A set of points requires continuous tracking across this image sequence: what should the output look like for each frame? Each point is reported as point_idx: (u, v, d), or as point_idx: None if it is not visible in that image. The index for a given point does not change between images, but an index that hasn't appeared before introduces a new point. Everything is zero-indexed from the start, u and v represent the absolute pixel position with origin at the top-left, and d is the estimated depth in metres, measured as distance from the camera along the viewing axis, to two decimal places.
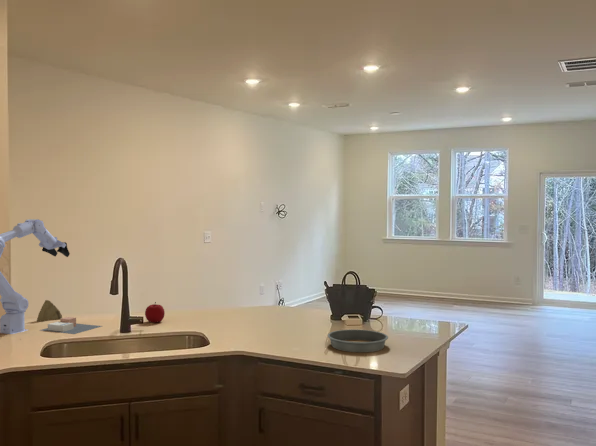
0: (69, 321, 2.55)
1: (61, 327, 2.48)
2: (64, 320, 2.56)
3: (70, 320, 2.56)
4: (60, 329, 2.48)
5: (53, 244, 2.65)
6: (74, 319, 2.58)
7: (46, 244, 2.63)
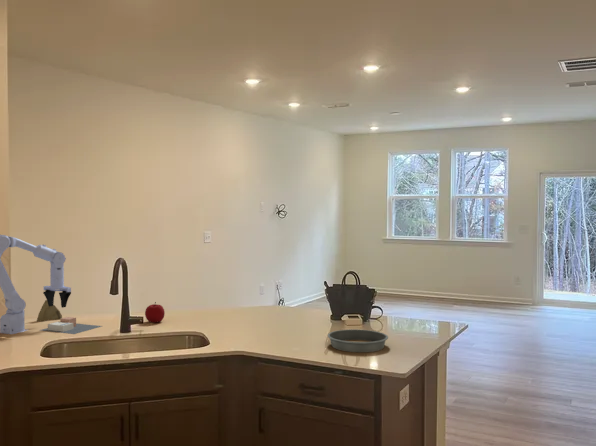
0: (69, 321, 2.55)
1: (61, 327, 2.48)
2: (64, 320, 2.56)
3: (70, 320, 2.56)
4: (60, 329, 2.48)
5: (59, 285, 2.58)
6: (74, 319, 2.58)
7: (54, 281, 2.57)
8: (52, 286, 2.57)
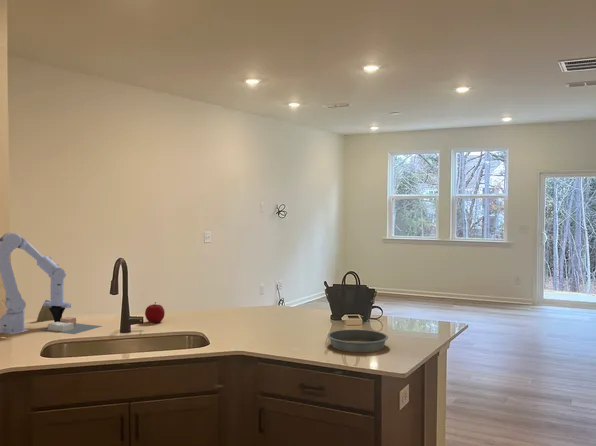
0: (69, 321, 2.55)
1: (61, 327, 2.48)
2: (64, 320, 2.56)
3: (70, 320, 2.56)
4: (60, 329, 2.48)
5: (60, 301, 2.58)
6: (74, 319, 2.58)
7: (54, 297, 2.57)
8: (52, 302, 2.57)
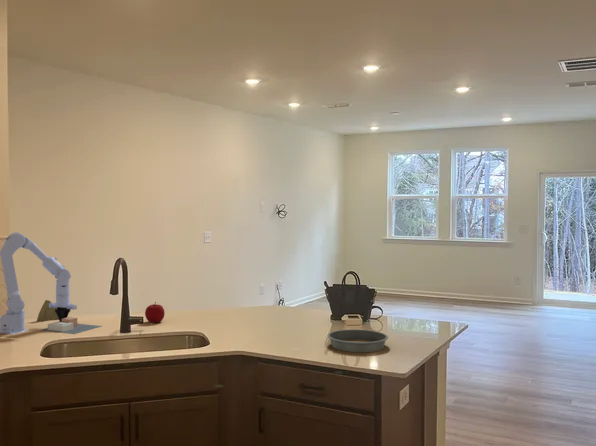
0: (70, 321, 2.55)
1: (61, 327, 2.48)
2: (65, 320, 2.55)
3: (71, 320, 2.55)
4: (60, 329, 2.48)
5: (65, 303, 2.57)
6: (75, 319, 2.58)
7: (59, 299, 2.56)
8: (58, 303, 2.56)
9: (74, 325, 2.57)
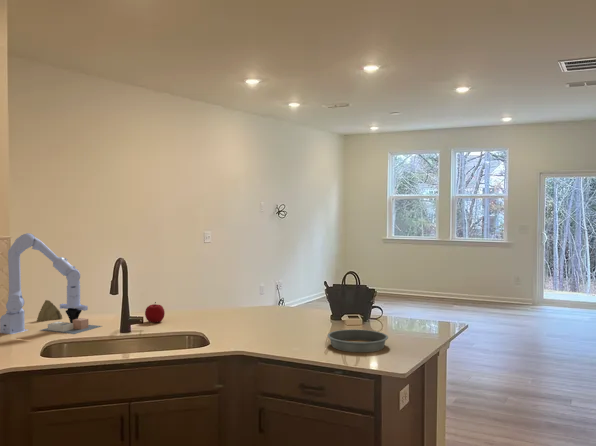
0: (81, 322, 2.53)
1: (61, 327, 2.48)
2: (76, 321, 2.53)
3: (82, 321, 2.53)
4: (60, 329, 2.48)
5: (76, 304, 2.54)
6: (86, 320, 2.55)
7: (70, 300, 2.54)
8: (69, 304, 2.54)
9: (85, 326, 2.55)
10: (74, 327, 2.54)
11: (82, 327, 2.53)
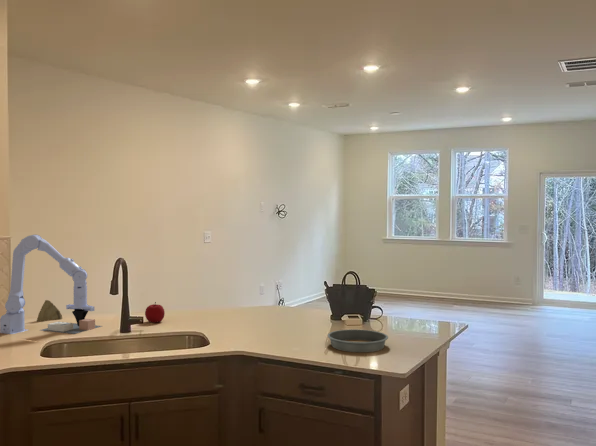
0: (88, 323, 2.51)
1: (61, 327, 2.48)
2: (83, 322, 2.52)
3: (89, 322, 2.52)
4: (60, 329, 2.48)
5: (83, 304, 2.53)
6: (93, 320, 2.54)
7: (77, 300, 2.52)
8: (75, 305, 2.52)
9: (92, 327, 2.53)
10: (81, 328, 2.52)
11: (89, 328, 2.51)
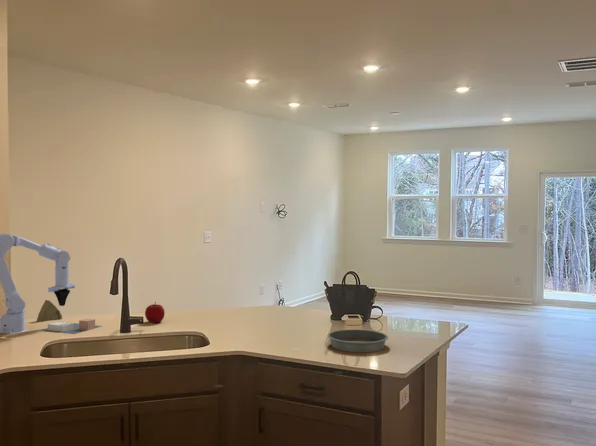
0: (88, 323, 2.51)
1: (61, 327, 2.48)
2: (83, 322, 2.52)
3: (89, 322, 2.52)
4: (60, 329, 2.48)
5: (55, 284, 2.58)
6: (93, 320, 2.54)
7: None
8: None
9: (92, 327, 2.53)
10: (81, 328, 2.52)
11: (89, 328, 2.51)
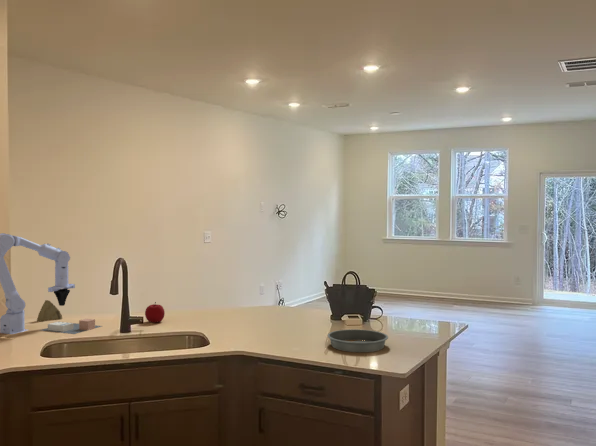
0: (88, 323, 2.51)
1: (61, 327, 2.48)
2: (83, 322, 2.52)
3: (89, 322, 2.52)
4: (60, 329, 2.48)
5: (55, 284, 2.58)
6: (93, 320, 2.54)
7: None
8: None
9: (92, 327, 2.53)
10: (81, 328, 2.52)
11: (89, 328, 2.51)
